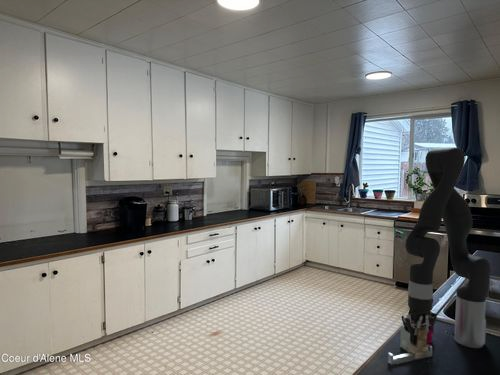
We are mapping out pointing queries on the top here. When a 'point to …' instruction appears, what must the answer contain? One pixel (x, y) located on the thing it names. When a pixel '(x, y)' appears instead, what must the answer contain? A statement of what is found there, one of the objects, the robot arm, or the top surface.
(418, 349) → the carriage
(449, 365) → the top surface
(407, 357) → the rail
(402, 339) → the cabinet
